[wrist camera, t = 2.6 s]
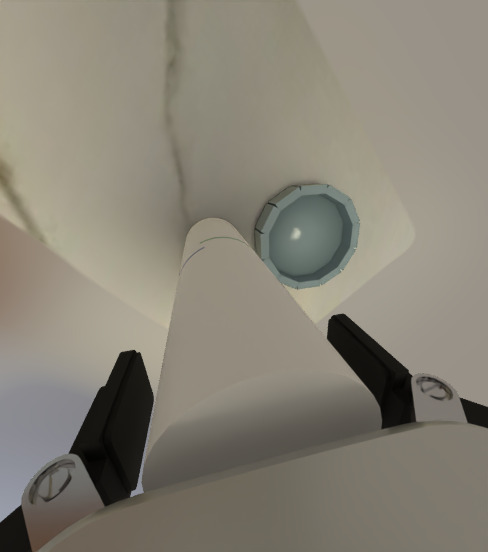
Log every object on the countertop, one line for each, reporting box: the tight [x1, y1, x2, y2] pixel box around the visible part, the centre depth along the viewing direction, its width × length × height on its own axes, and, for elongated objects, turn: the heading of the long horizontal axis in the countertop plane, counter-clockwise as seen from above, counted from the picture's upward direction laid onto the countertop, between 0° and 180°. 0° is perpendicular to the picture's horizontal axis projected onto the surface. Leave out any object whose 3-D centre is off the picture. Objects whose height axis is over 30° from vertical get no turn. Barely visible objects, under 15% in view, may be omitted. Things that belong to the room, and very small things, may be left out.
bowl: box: [255, 184, 360, 289], centre depth 30 cm, size 13×13×3 cm
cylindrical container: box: [142, 218, 382, 493], centre depth 18 cm, size 7×7×25 cm
